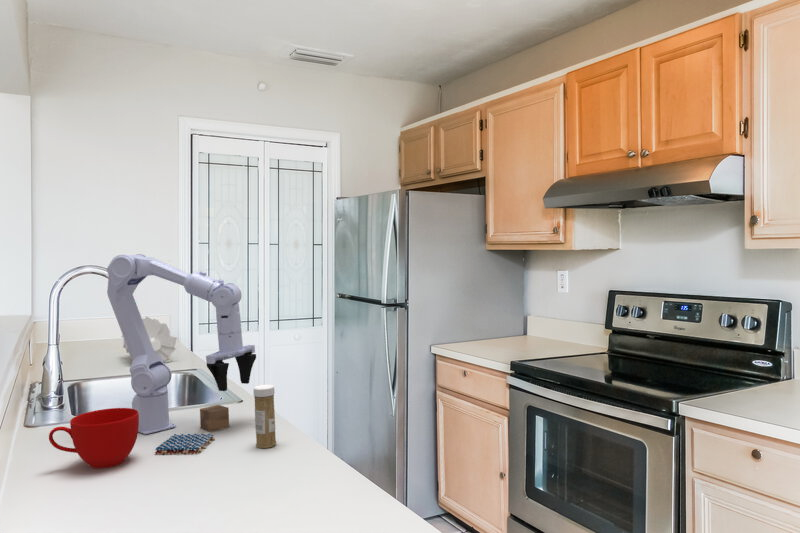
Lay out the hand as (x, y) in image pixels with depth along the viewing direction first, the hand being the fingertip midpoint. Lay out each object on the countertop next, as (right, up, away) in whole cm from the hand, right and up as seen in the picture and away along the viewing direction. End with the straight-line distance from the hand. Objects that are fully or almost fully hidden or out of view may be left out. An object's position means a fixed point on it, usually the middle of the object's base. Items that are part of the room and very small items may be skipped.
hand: (234, 386), depth 149 cm
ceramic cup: (-22, -12, -23) cm, 34 cm away
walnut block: (-5, -10, +1) cm, 12 cm away
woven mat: (-7, -12, -14) cm, 19 cm away
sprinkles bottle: (+11, -11, -14) cm, 21 cm away
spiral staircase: (-62, -9, +97) cm, 115 cm away
